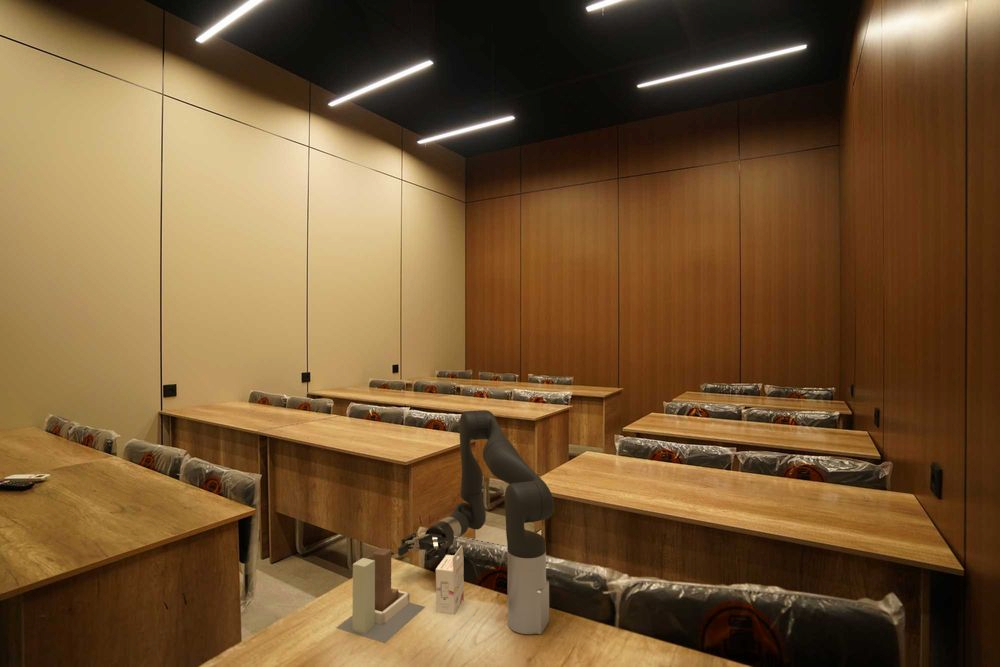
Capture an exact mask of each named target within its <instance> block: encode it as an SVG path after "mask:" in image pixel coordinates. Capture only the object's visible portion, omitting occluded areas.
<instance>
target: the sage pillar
mask: <svg viewBox="0 0 1000 667" xmlns="http://www.w3.org/2000/svg"><path fill="white" fill-rule="evenodd" d="M352 616H353V631H356V632H359V633H363V634H365V633H367V632H368V631H369V630H370V629H372V628H373V627H374V626H375V560H373V559H370V558H366V557H362V558H360V559H359V560H357V561H356V562H354V563H352Z"/></svg>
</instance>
